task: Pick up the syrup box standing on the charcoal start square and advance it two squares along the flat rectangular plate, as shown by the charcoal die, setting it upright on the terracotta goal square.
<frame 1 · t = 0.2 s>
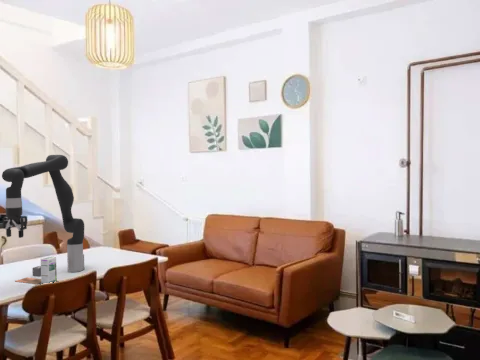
hand: (14, 237, 208), 29 cm above the table, tool pointing down, fingers open, 8 cm apart
syrup box: (49, 283, 222), resting on flat rectangular plate
die: (39, 275, 239), on the table
flat rectangular plate: (37, 281, 225), on the table
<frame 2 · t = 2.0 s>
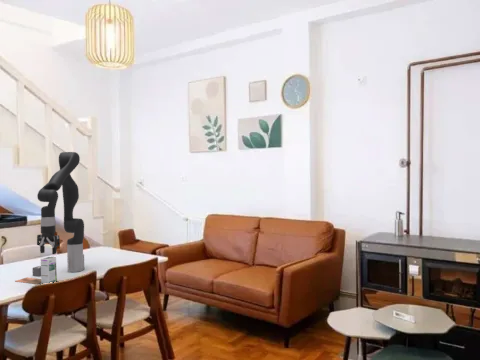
hand: (48, 253, 222), 17 cm above the table, tool pointing down, fingers open, 8 cm apart
nothing on the table moved.
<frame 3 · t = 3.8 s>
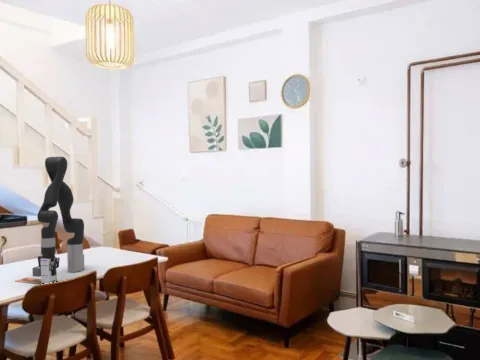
hand: (48, 275, 222), 5 cm above the table, tool pointing down, fingers closed on syrup box, 6 cm apart
syrup box: (49, 283, 222), resting on flat rectangular plate, touching gripper
everything else where it was.
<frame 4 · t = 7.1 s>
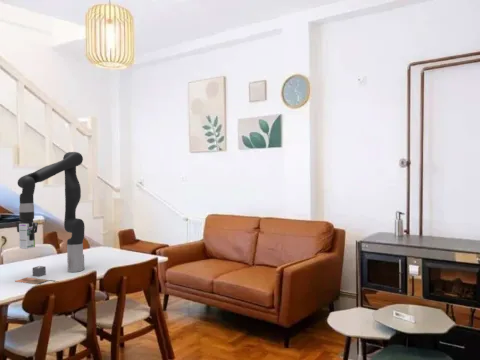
hand: (27, 239, 227), 24 cm above the table, tool pointing down, fingers closed on syrup box, 6 cm apart
syrup box: (27, 248, 227), point 19 cm above the table, touching gripper
everything else where it was.
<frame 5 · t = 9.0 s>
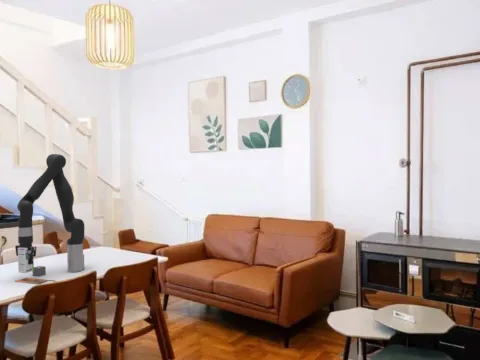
hand: (26, 263, 228), 10 cm above the table, tool pointing down, fingers closed on syrup box, 6 cm apart
syrup box: (26, 272, 228), point 5 cm above the table, touching gripper
everything else where it was.
when the fingers open (6 cm above the table, at t = 10.6 s): syrup box drops 1 cm, resting on flat rectangular plate.
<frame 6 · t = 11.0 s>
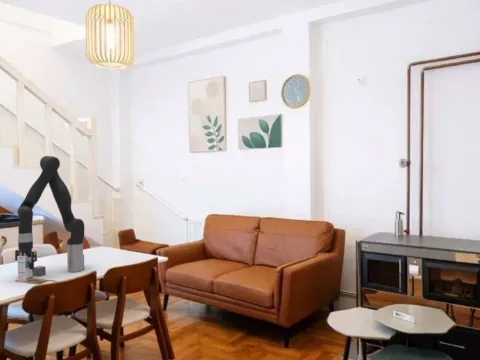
hand: (26, 268, 228), 7 cm above the table, tool pointing down, fingers open, 8 cm apart
syrup box: (25, 280, 228), resting on flat rectangular plate
everything else where it was.
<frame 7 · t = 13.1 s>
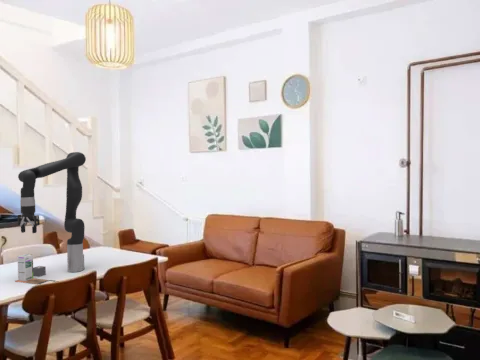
hand: (28, 232, 228), 28 cm above the table, tool pointing down, fingers open, 8 cm apart
nothing on the table moved.
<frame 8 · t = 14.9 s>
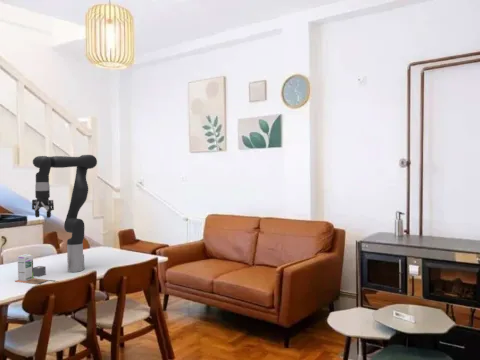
hand: (42, 217, 232), 36 cm above the table, tool pointing down, fingers open, 8 cm apart
nothing on the table moved.
at the end: syrup box inside the target area (0.2 cm from its centre), resting on flat rectangular plate; syrup box tilted 0°; the gripper is holding nothing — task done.
